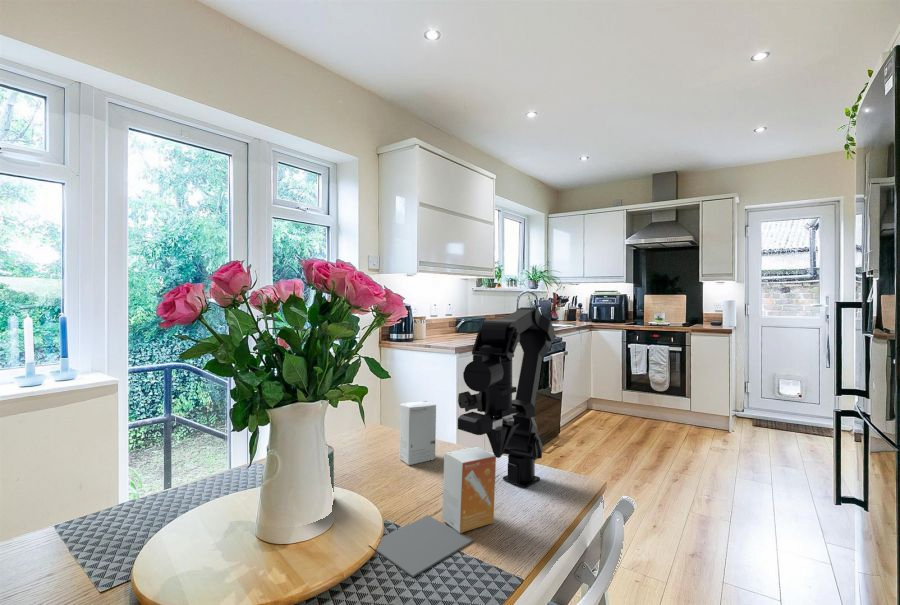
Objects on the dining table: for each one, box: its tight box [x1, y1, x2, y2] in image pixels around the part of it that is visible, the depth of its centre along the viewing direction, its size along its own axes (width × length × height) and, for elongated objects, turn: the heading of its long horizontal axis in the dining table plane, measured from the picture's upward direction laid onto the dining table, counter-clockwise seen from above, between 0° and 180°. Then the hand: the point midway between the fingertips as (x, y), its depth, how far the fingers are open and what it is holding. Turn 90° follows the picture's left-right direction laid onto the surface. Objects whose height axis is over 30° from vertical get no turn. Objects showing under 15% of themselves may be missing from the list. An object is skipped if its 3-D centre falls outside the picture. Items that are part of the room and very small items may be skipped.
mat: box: [375, 515, 474, 578], centre depth 76 cm, size 14×12×1 cm
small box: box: [441, 446, 497, 534], centre depth 84 cm, size 8×6×13 cm
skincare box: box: [398, 400, 437, 466], centre depth 115 cm, size 8×6×15 cm
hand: (497, 457), depth 90 cm, fingers closed
